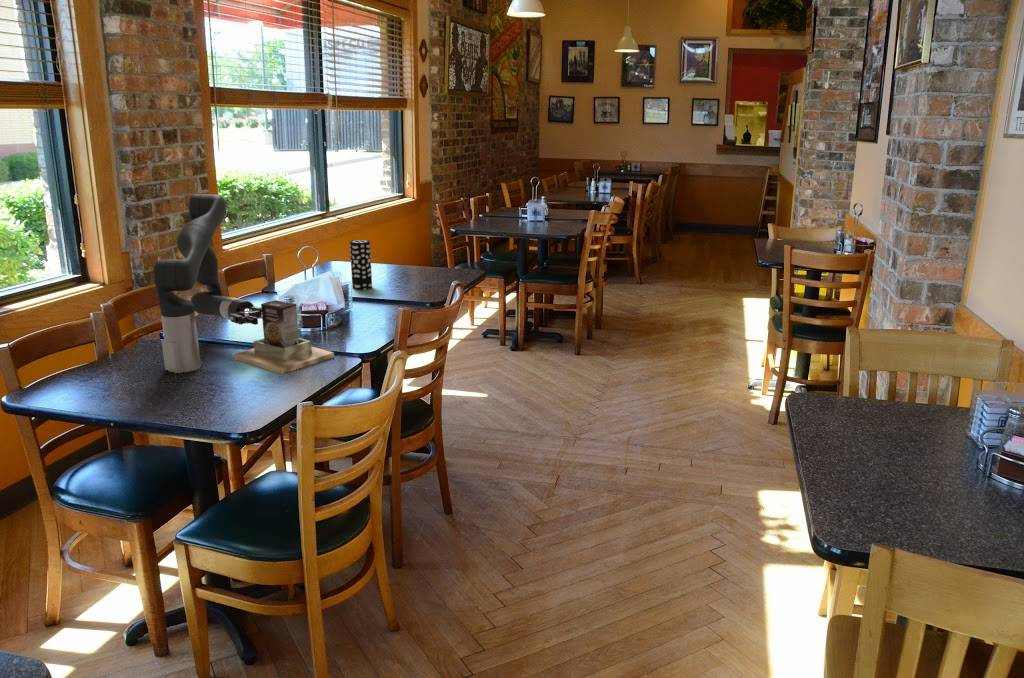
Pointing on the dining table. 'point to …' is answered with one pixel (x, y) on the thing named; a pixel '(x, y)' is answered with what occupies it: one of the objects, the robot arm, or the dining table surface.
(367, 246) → the white-spotted black cylinder
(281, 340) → the coffee box
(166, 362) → the robot arm
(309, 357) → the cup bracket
